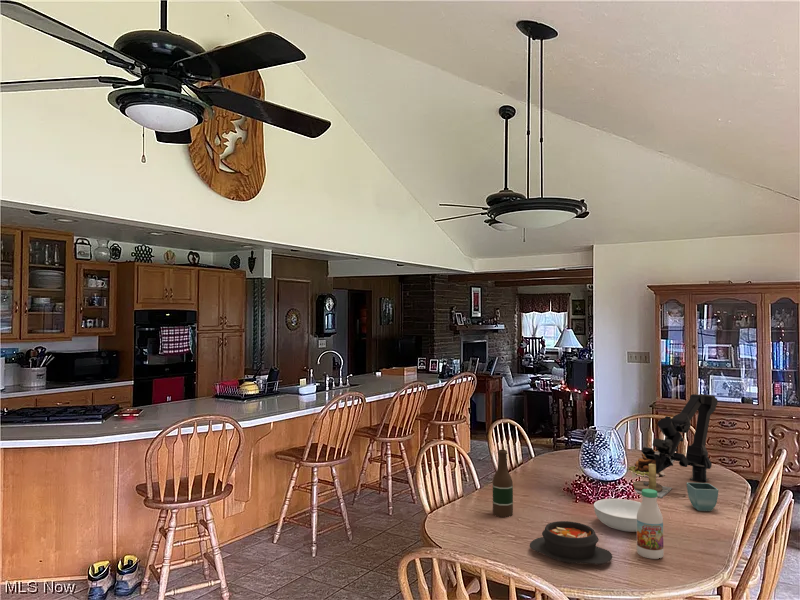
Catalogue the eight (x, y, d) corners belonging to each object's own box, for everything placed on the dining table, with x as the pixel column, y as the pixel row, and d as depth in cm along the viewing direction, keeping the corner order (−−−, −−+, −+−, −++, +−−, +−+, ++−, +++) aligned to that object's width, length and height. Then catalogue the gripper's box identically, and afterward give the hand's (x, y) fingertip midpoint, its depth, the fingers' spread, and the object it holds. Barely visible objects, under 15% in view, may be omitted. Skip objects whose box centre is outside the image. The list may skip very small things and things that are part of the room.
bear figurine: (645, 468, 284) (645, 443, 284) (670, 476, 270) (669, 450, 270) (623, 471, 279) (623, 445, 279) (647, 479, 265) (647, 452, 265)
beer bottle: (515, 512, 220) (515, 449, 221) (510, 519, 213) (510, 453, 214) (495, 509, 223) (495, 447, 224) (489, 515, 216) (489, 451, 217)
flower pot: (709, 505, 228) (709, 482, 228) (719, 513, 219) (719, 489, 219) (686, 505, 229) (685, 482, 229) (695, 512, 220) (694, 489, 220)
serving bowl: (628, 542, 191) (627, 521, 191) (581, 522, 210) (581, 503, 210) (670, 532, 201) (670, 512, 201) (622, 513, 219) (621, 495, 219)
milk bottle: (632, 549, 185) (631, 487, 186) (655, 549, 186) (654, 486, 186) (644, 560, 178) (643, 494, 178) (668, 559, 178) (667, 493, 179)
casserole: (618, 554, 182) (617, 527, 182) (605, 577, 166) (604, 547, 166) (540, 538, 195) (540, 513, 195) (521, 558, 179) (521, 530, 179)
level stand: (634, 482, 260) (634, 480, 260) (672, 489, 249) (672, 487, 249) (621, 490, 247) (621, 488, 247) (661, 498, 237) (661, 496, 237)
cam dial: (627, 483, 254) (627, 458, 254) (654, 483, 254) (654, 457, 255) (639, 492, 242) (639, 465, 242) (668, 492, 242) (667, 465, 242)
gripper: (643, 428, 255) (628, 456, 248) (683, 434, 239) (668, 465, 232) (654, 443, 259) (640, 472, 252) (694, 451, 243) (680, 482, 236)
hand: (656, 472), depth 243 cm, fingers closed, pressing on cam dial
